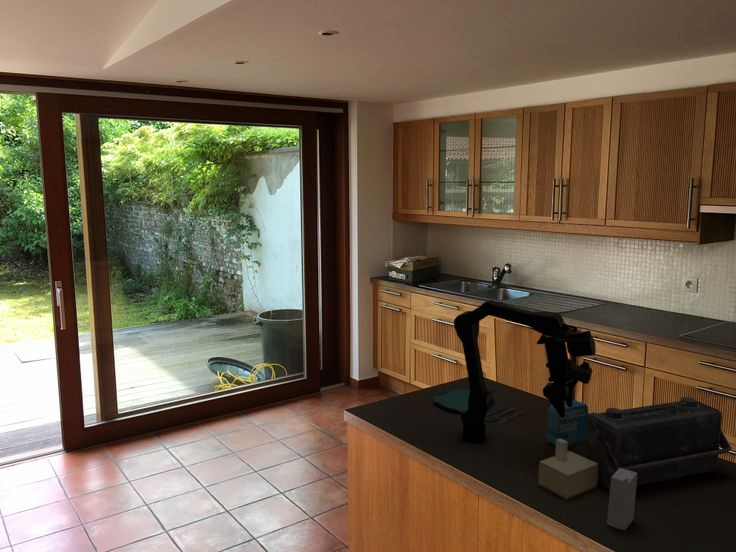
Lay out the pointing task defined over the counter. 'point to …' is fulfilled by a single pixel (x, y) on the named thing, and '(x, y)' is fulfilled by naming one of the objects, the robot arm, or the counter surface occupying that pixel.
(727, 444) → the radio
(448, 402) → the cutlery set
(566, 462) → the lid
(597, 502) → the counter surface
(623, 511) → the skincare box
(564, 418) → the data package
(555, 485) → the carton
